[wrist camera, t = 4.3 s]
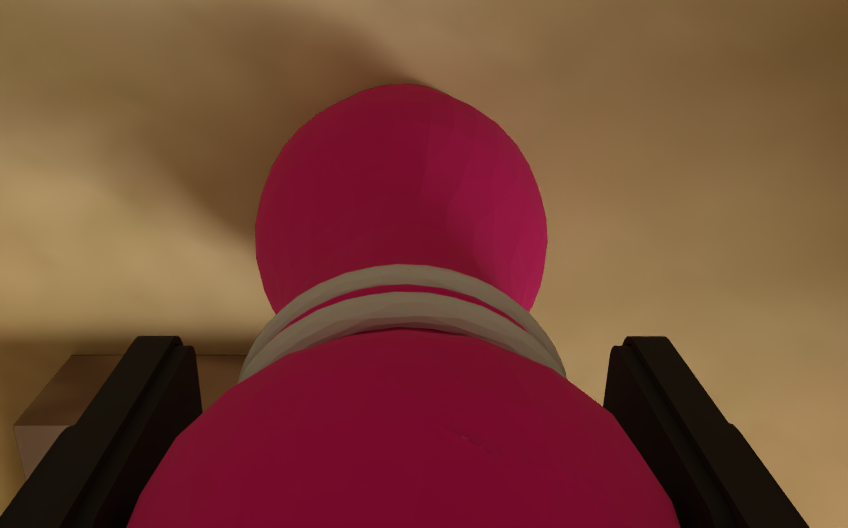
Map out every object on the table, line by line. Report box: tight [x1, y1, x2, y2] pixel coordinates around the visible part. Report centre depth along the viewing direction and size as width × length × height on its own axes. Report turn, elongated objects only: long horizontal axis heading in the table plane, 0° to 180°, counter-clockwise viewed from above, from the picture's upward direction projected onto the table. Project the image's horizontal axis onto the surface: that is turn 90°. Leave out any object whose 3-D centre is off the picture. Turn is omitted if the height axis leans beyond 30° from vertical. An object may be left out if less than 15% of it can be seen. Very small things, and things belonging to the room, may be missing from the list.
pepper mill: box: [126, 84, 681, 528], centre depth 13 cm, size 7×7×20 cm
